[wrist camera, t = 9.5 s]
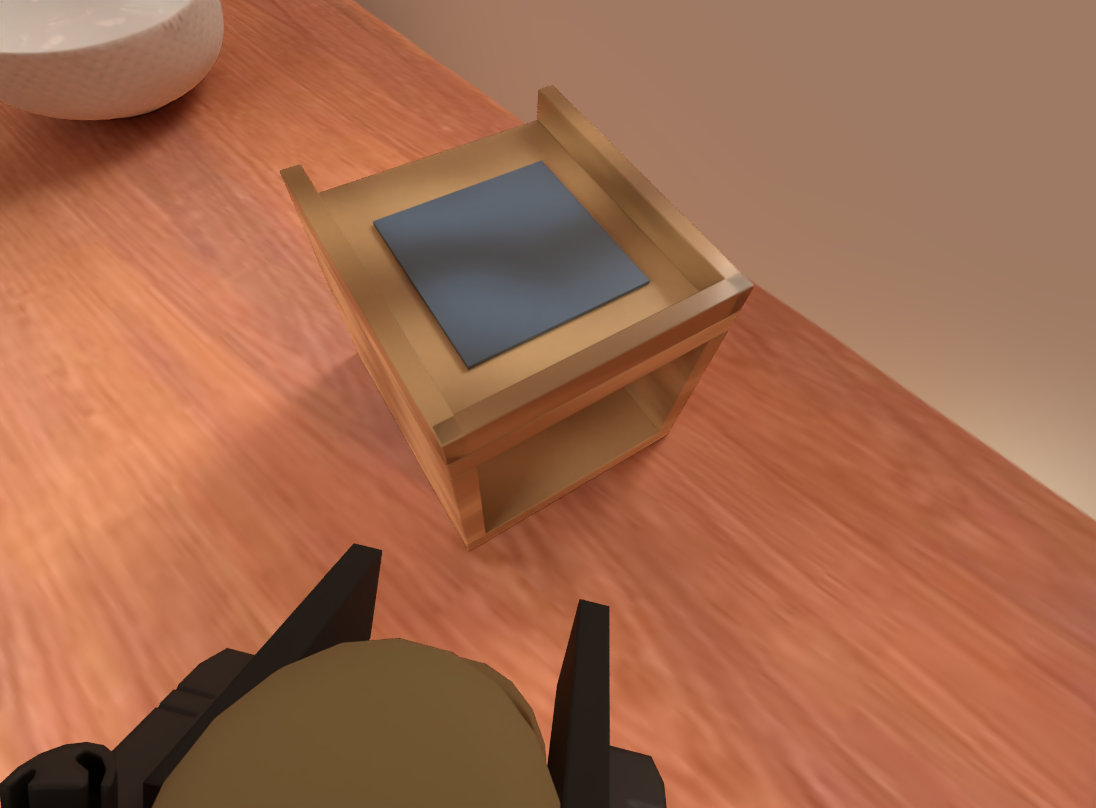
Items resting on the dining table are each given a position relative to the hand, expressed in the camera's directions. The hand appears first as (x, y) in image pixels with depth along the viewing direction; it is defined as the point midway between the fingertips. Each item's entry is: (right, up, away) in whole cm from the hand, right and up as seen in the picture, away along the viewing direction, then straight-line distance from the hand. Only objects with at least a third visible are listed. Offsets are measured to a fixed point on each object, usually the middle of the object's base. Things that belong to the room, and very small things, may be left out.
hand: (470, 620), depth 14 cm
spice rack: (0, +6, +16) cm, 17 cm away
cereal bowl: (-29, +29, +26) cm, 49 cm away
